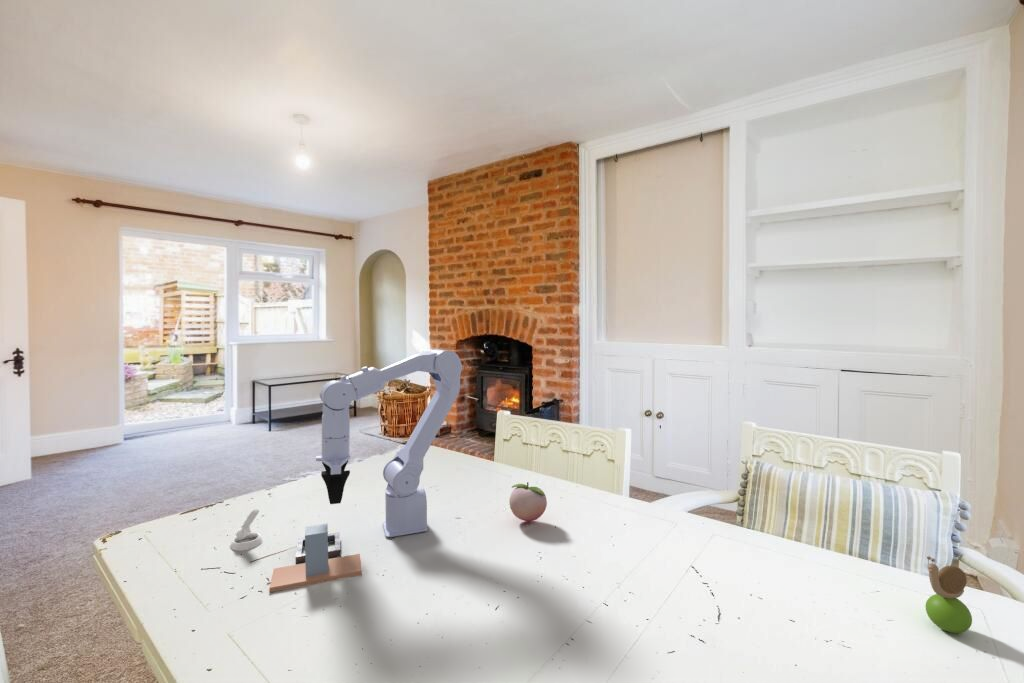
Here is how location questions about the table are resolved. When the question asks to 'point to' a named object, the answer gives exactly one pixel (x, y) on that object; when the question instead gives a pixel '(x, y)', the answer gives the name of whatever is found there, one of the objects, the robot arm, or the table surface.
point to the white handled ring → (246, 534)
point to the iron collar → (331, 552)
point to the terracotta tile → (297, 575)
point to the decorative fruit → (527, 502)
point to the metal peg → (316, 549)
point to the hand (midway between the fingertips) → (335, 496)
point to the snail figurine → (948, 598)
